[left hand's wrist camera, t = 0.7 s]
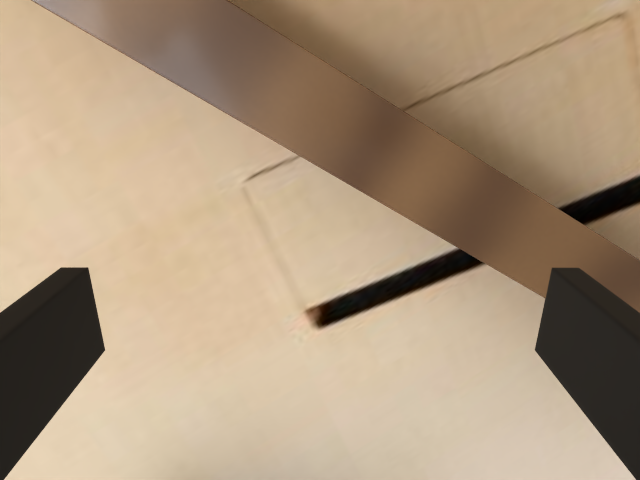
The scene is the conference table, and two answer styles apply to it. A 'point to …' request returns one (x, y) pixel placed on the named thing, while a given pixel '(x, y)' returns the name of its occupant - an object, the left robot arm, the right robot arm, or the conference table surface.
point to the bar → (353, 136)
